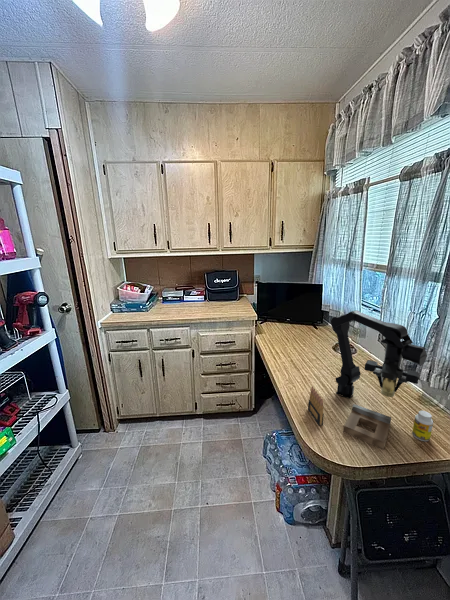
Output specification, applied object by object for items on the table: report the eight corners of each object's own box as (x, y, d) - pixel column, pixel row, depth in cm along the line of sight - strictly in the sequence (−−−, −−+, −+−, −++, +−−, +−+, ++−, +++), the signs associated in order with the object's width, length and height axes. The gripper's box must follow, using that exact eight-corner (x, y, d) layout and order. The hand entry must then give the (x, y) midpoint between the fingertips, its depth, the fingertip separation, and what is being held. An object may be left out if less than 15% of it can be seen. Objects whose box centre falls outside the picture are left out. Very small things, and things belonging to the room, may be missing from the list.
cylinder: (380, 394, 109) (382, 377, 107) (382, 389, 113) (384, 372, 111) (393, 398, 106) (396, 380, 104) (394, 393, 110) (397, 376, 108)
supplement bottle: (408, 433, 101) (412, 411, 99) (417, 429, 103) (422, 407, 101) (423, 444, 96) (428, 420, 94) (433, 439, 98) (438, 416, 95)
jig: (343, 432, 102) (344, 421, 101) (352, 413, 113) (353, 403, 112) (383, 449, 94) (385, 437, 92) (389, 428, 104) (391, 417, 103)
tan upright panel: (323, 425, 106) (325, 399, 103) (318, 425, 106) (320, 400, 103) (311, 408, 116) (313, 385, 114) (307, 409, 116) (309, 385, 114)
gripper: (363, 356, 105) (359, 390, 109) (420, 369, 94) (413, 407, 97) (369, 347, 114) (365, 379, 117) (422, 359, 102) (415, 393, 106)
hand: (388, 389), depth 109 cm, fingers closed on cylinder, 5 cm apart
